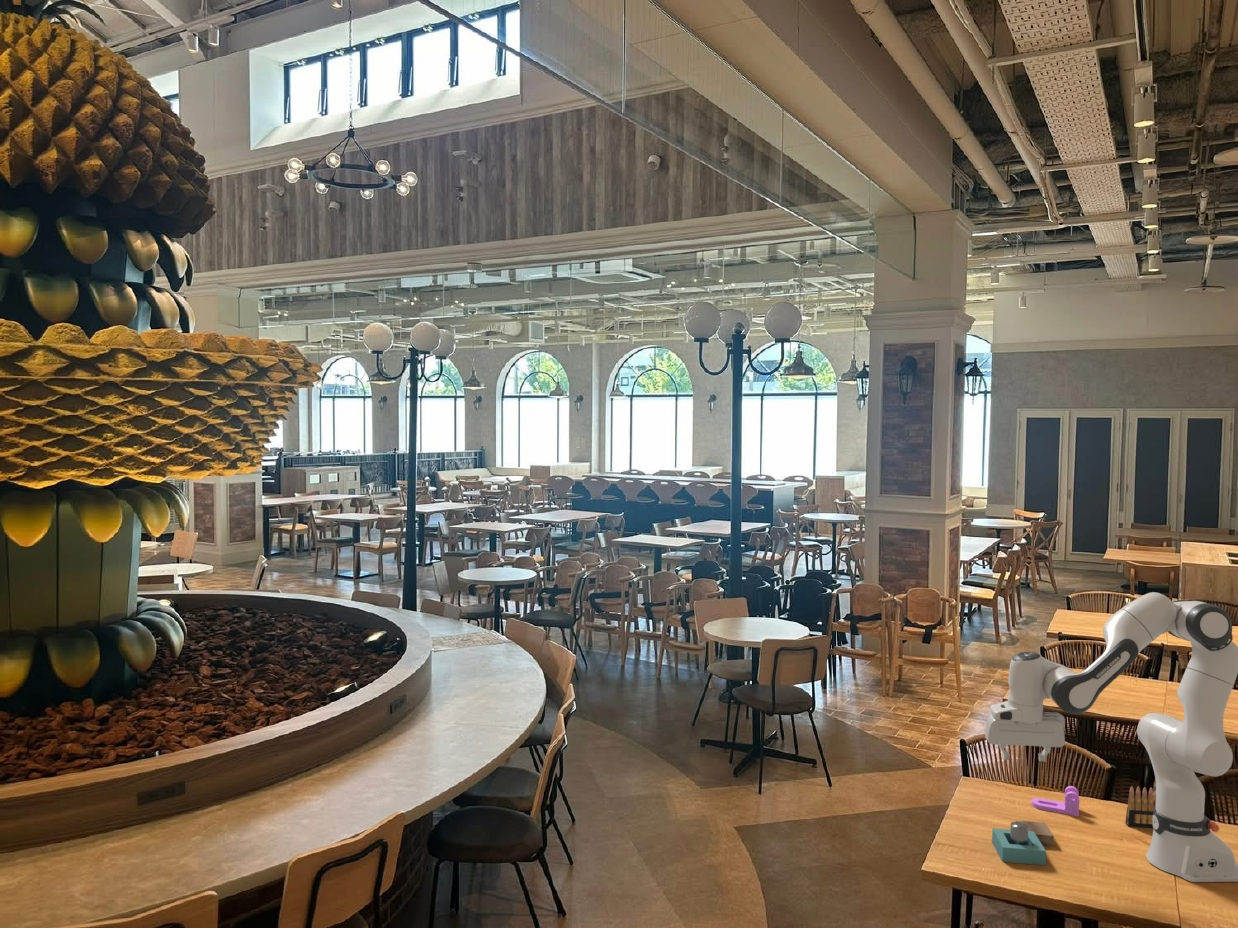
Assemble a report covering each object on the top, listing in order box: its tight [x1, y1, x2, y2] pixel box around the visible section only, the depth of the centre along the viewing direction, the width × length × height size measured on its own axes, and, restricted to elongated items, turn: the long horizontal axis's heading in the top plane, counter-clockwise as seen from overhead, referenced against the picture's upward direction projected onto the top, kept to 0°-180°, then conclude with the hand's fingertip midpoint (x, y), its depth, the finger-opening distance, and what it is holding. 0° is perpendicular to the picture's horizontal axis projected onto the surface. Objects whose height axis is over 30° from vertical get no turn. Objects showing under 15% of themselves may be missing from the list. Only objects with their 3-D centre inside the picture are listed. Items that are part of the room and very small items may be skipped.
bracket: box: [1030, 785, 1080, 817], centre depth 271 cm, size 13×6×7 cm, turn 65°
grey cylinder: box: [1010, 821, 1028, 845], centre depth 243 cm, size 4×4×8 cm
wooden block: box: [1015, 820, 1055, 847], centre depth 252 cm, size 8×8×3 cm
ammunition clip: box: [1125, 785, 1156, 829], centre depth 260 cm, size 11×2×12 cm, turn 82°
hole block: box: [991, 827, 1047, 866], centre depth 244 cm, size 11×11×4 cm
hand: (1023, 759), depth 244 cm, fingers open, 8 cm apart
